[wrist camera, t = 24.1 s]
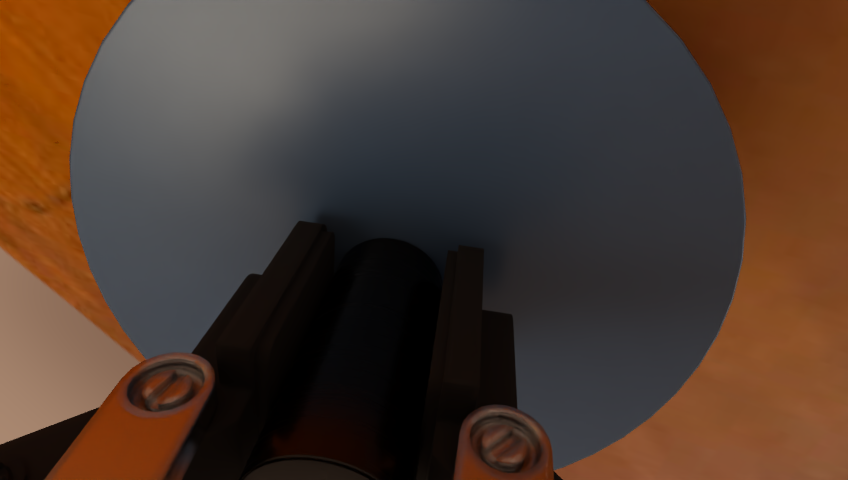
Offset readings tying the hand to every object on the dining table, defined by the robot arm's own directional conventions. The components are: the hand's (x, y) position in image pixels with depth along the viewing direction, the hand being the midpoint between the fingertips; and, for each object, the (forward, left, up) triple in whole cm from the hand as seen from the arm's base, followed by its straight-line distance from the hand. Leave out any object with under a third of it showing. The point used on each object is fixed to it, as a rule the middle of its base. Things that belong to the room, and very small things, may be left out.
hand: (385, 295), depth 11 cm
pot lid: (0, 0, -1) cm, 1 cm away
